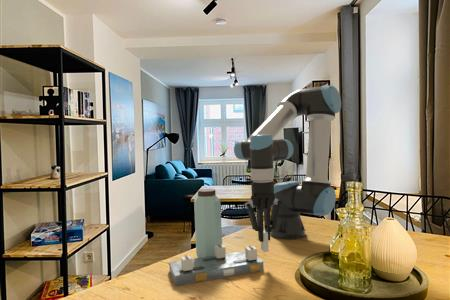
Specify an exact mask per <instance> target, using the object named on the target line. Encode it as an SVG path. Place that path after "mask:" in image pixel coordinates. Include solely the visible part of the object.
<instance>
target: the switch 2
mask: <svg viewBox="0 0 450 300" xmlns="http://www.w3.org/2000/svg"><path fill="white" fill-rule="evenodd" d="M226 251H227V250H226V246H225V245H224V244H223V243H222V245H220V244H218V245H215V256H216V258H224V257H226V254H227V253H226Z"/></svg>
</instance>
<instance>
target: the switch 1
mask: <svg viewBox="0 0 450 300" xmlns="http://www.w3.org/2000/svg"><path fill="white" fill-rule="evenodd" d="M192 259H193V257H192V256H191V255H187V254H185V255H184V256H180V261H181V266H182V270H183V271H187V270H193V262H192Z"/></svg>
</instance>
